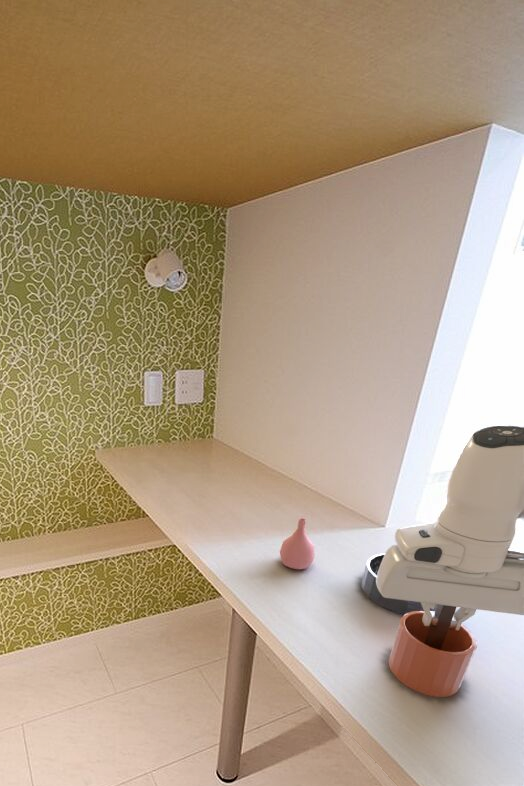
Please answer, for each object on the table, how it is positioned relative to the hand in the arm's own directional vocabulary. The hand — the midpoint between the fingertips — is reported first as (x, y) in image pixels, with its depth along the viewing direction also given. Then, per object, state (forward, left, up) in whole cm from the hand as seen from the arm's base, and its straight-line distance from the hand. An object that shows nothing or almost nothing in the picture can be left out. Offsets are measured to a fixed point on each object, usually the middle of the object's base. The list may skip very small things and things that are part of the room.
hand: (439, 625), depth 66 cm
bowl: (-2, -23, -10) cm, 25 cm away
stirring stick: (0, 0, -9) cm, 9 cm away
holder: (0, 0, -10) cm, 10 cm away
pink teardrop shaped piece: (+19, -30, -10) cm, 37 cm away
